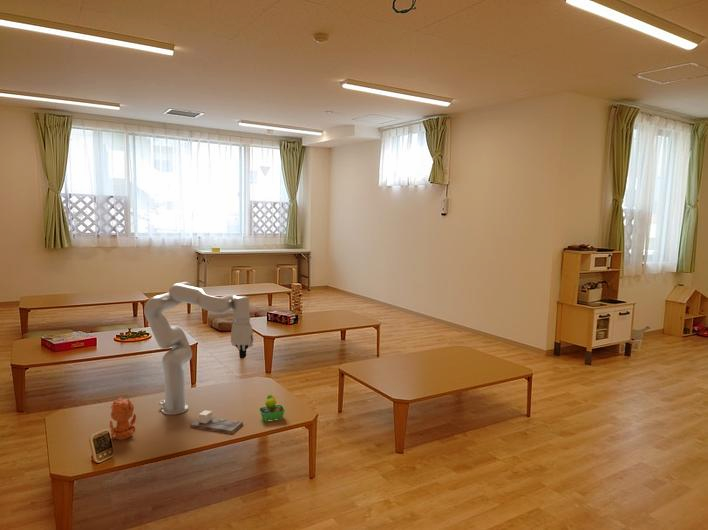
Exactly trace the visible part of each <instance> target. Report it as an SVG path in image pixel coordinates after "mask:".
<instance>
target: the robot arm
mask: <svg viewBox="0 0 708 530" xmlns="http://www.w3.org/2000/svg"><path fill="white" fill-rule="evenodd" d="M182 303H186V304H190V305H195V306H198V307H199V308H201V309H202V310H204V311H208V312H211V313H217V314H224V313H227V312H228V311H232V310H233V318H231V321H232V322H233V323H232V324H231V329H230V330H231V332H230V344H231V345H232V347H236V349H237V350H238V351H239V352H238V353H239V354H238V355H239V359H241V360H244V359H245V358H246V357H247V349H248V348H251V347H254V344H253V342H254V332H253V326H252V324H251V321H250V317H251V316H250V314H251V313H250V297H248V296H247V295H234V294H227V295H224V296H220V297H217V296H212V295H210V294H209V295H208V294H206V291H205V290H204V289H203V288H202V287H196V286H194V285H193V284H192V283H191V282H189V281H182V282H177V283H174V284H172V285H171V286H170V287H169V289H168V291H167V292H166V293H161V294H158V295H157V294H156V295H155V296H152V297H150V299H148V300H147V301H146V303H145V305H144V307H143V313H144V316H145V319H146V321H147V322H148V324H149V327H150V329H151V331H152V334H153V337H154V339H155V341H156V344H157V345H158V347H159V348H161V349H163V350H164V349H165V350H166V349H169V351H167V352H166V353H165V354H164V355H163V356H162V358H161V359H162V360H161V365H162V368H163V374H164V375H163V377H164V381H163V382H164V399H160V400H159V403H158V406H162V408H161V413H163V414H164V415H169V416H172V415H173V416H175V415H179V414H182V413H185V412H187V411H188V410H189V405H188V404H186V394H185V392H186V391H185V389H186V388H185V371H184V369H183V365H185V364H186V363H189V361H191V359H192V357H193V350H192V348H191V345H190V342H189V340H188V338H187V335H186V334H185V331H184V330H183V329H182V328H180V327H179V326H177V325H176V326H175V325H173V326H171V325H170V324H169V321H168V319H167V318H166V316H165V315H164V314H163V312H165V311H169V310H171V309H173V308H175V307H177V306H179V305H180V304H182ZM170 348H171V349H170Z"/></svg>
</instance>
